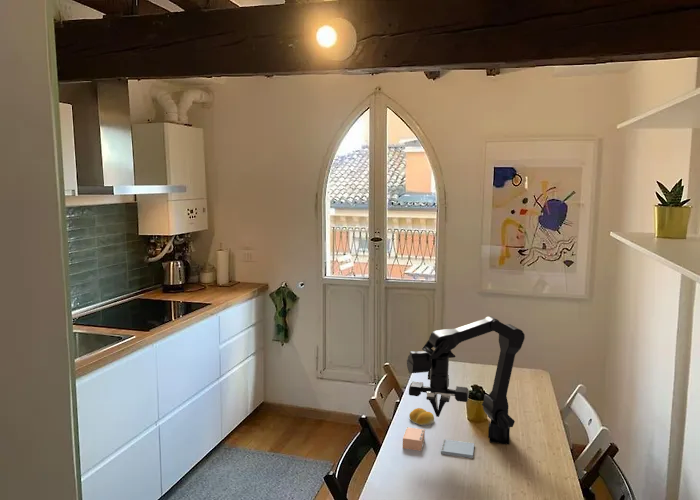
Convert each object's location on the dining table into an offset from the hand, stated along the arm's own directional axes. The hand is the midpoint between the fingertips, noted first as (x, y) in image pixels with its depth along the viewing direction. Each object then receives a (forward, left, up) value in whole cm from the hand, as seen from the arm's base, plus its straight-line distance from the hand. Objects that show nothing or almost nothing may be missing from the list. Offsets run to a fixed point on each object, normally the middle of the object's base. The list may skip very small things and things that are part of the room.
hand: (437, 416), depth 177 cm
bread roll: (+8, -18, -11) cm, 23 cm away
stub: (+8, 0, -11) cm, 13 cm away
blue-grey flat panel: (-7, 0, -11) cm, 13 cm away
